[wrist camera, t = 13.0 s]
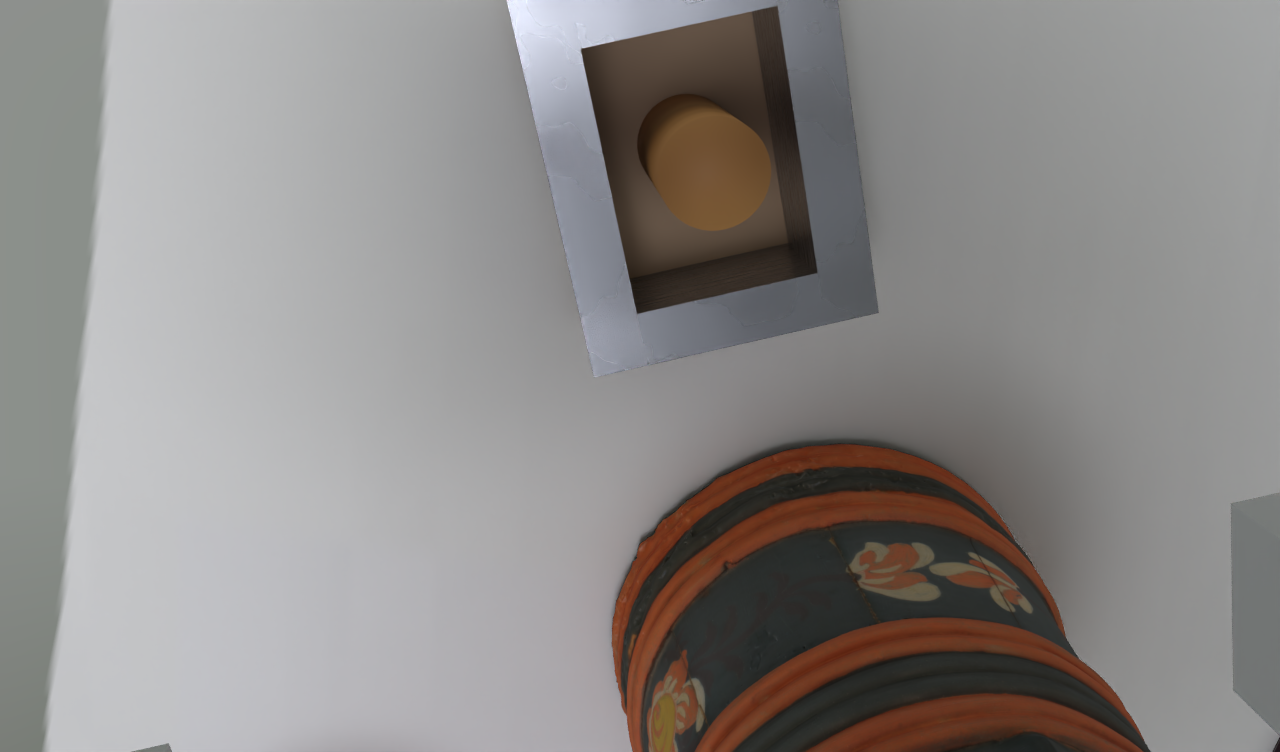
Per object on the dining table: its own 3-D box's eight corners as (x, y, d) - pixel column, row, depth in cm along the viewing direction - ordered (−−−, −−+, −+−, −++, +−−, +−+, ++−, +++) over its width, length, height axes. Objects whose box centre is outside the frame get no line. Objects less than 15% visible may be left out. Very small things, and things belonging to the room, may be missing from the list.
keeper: (818, 271, 36) (878, 331, 30) (600, 321, 36) (618, 391, 30) (767, -65, 32) (824, -70, 26) (524, -12, 32) (528, -5, 26)
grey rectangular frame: (843, 279, 35) (878, 312, 31) (585, 337, 34) (594, 377, 31) (794, -68, 31) (827, -71, 28) (506, -6, 31) (506, -2, 28)
